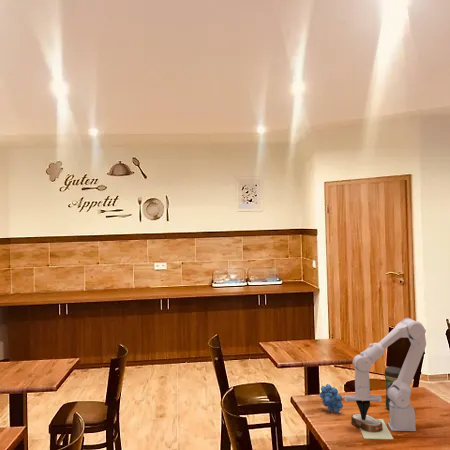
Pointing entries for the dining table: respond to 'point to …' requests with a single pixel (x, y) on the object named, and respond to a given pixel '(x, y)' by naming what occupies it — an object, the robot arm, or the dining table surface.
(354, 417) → the tin
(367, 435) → the mat
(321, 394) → the grapes
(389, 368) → the coffee jar
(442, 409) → the dining table surface
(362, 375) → the robot arm
